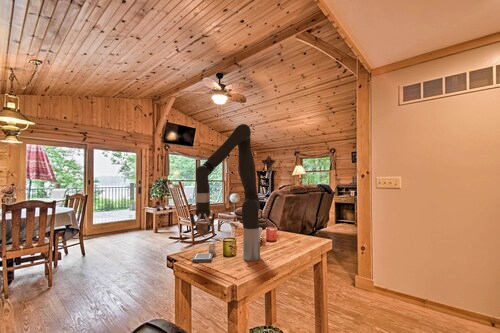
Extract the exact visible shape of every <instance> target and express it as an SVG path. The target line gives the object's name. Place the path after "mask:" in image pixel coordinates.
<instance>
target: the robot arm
mask: <svg viewBox="0 0 500 333" xmlns="http://www.w3.org/2000/svg"><path fill="white" fill-rule="evenodd" d="M251 130H252V129H251V128H250V126H249V125H248V124H245V123H241V124H238V125H236V127H235V128H234V130H232V133H231V134H230V135H229V137H227V139H226V140H225V141H224V142H223V143H222V144H221V145H220V146H219V147H218V148H217V149H216V150H215V151H214V152H212V153H211V155H210V156H209V157H208V158H207V160H206V161H204V163H203V164H202V165H199V166H197V168H196V170H195V179H196V195H195V196H196V197H195V203H196V204H195V212H191V213H190V214H189V215H190V219H191V220H190V221H191V224H192V225H194V226H195V231H196V232H197V224H198V223H199V222H200V220H204V221H205V222H207V223H208V233H209V232H210V231H211V226H212V225H213V224H214V223H215V218H216V217H215V216H216V212H211V204H210V202H211V199H210V198H211V197H210V183H209V176H210V175H211V174H212V173H213V171H214V170H215V169H216V168H217V167H219V166H220V165H221V163H223V161H224V160H226V158H228V156H229V155H230V154H231V152H232V151H233V150H234V149H235V148H236V147H237V150H238V173H239V178H240V181H241V185H242V187H243V191H244V202H243V203H242V204H241V221H242V222H241V223H242V244H243V245H242V246H243V247H242V253H243V254H242V257H243V260H245V261H248V262H256V261H260V260H261V242H260V228H261V226H260V224H261V223H260V220H259V219H260V218H259V216H260V215H259V212H260V208H261V203H260V199H259V195H258V189H257V175H256V174H257V173H256V166H255V159H254V156H253V152H252V149H251V148H252V146H251V134H252V131H251ZM195 216H196V217H197V218H196V221H195ZM210 216H211V221H210Z"/></svg>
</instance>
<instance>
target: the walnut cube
mask: <svg viewBox="0 0 500 333" xmlns="http://www.w3.org/2000/svg"><path fill="white" fill-rule="evenodd" d="M196 234H197V235H208V234H209V232H208V223H207V221H199V223H198V224H197V231H196Z"/></svg>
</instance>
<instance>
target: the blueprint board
mask: <svg viewBox="0 0 500 333" xmlns="http://www.w3.org/2000/svg"><path fill="white" fill-rule="evenodd" d="M213 257H214V254H213V253H209V252H202V253H201V252H198V253H196V252H195V254H194V255H193V256H192V260H191V263H211V262H212V260H213Z"/></svg>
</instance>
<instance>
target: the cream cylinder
mask: <svg viewBox="0 0 500 333" xmlns="http://www.w3.org/2000/svg"><path fill="white" fill-rule="evenodd" d="M208 253H213V255H216V242H214V241H211V242H209V243H208Z"/></svg>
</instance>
